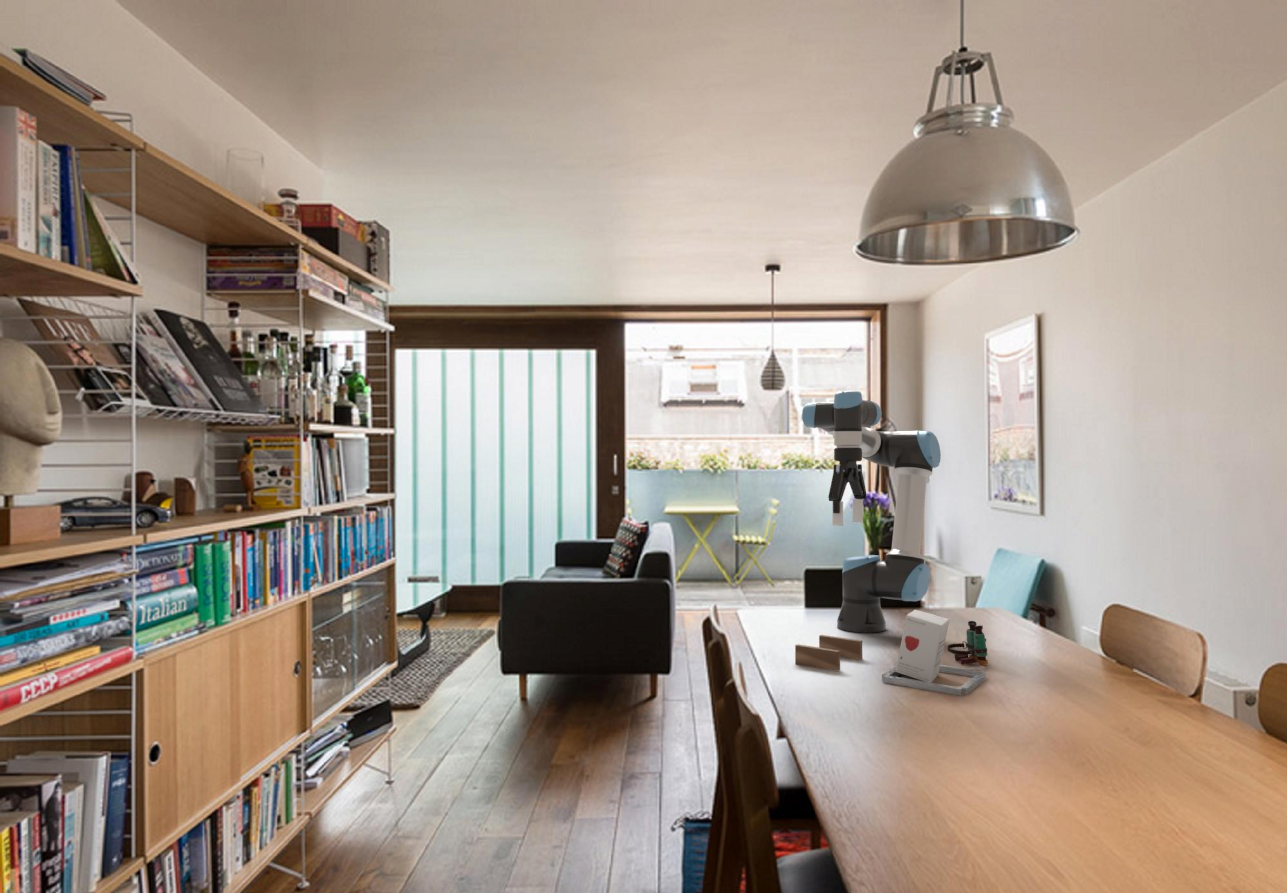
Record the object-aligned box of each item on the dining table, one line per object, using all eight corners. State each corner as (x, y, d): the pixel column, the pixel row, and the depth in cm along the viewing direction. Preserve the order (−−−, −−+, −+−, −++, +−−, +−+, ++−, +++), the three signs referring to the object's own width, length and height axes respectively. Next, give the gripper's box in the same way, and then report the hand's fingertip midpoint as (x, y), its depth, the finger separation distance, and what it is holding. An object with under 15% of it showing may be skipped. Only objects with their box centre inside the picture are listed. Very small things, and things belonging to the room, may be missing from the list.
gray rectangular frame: (908, 665, 220) (908, 659, 220) (988, 677, 208) (988, 671, 208) (879, 682, 204) (879, 675, 204) (964, 696, 192) (964, 690, 192)
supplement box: (894, 672, 207) (905, 614, 205) (903, 664, 214) (914, 608, 213) (930, 684, 202) (942, 624, 201) (939, 675, 210) (950, 618, 208)
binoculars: (941, 622, 228) (977, 619, 228) (945, 661, 228) (982, 657, 228) (952, 629, 219) (990, 625, 219) (957, 669, 219) (995, 665, 219)
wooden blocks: (821, 652, 234) (821, 634, 234) (862, 658, 227) (862, 640, 227) (795, 664, 221) (795, 645, 221) (837, 671, 214) (837, 651, 214)
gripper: (853, 447, 242) (853, 520, 241) (815, 446, 222) (815, 526, 222) (878, 447, 237) (878, 521, 237) (842, 446, 217) (842, 527, 217)
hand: (848, 523), depth 229 cm, fingers open, 13 cm apart
